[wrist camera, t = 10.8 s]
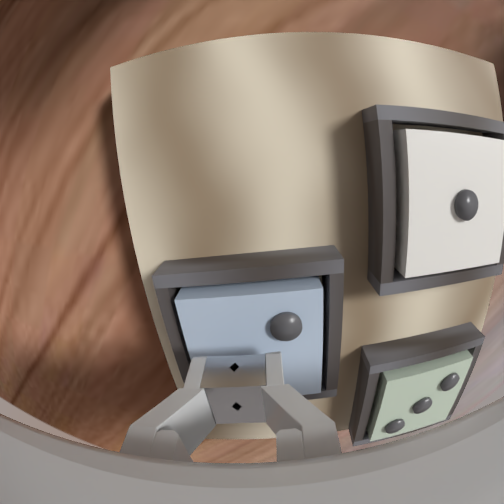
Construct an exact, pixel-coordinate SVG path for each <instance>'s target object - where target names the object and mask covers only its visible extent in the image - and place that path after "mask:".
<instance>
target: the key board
mask: <svg viewBox="0 0 504 504" xmlns="http://www.w3.org/2000/svg"><path fill="white" fill-rule="evenodd" d="M110 71H111V92H112V106H113V118H114V129H115V138H116V146H117V154H118V162H119V169H120V175H121V182H122V188H123V194H124V199H125V205H126V210H127V215H128V220H129V225H130V230H131V235H132V239H133V244H134V248H135V253H136V257H137V261H138V265H139V269H140V273H141V277H142V281H143V285H144V288H145V292H146V296H147V299H148V303H149V306H150V310H151V313H152V316H153V320H154V323H155V326H156V329H157V332H158V336H159V339H160V342H161V345H162V348H163V351H164V354H165V356H166V359H167V362H168V365H169V368H170V371H171V373H172V376H173V379H174V381H175V384H176V387H177V389H179V388H183V386H184V383H185V380H186V376H187V373H188V370H189V366H190V363H191V359H190V356H189V352H188V349H187V346H186V342H185V338H184V335H183V331H182V328H181V324H180V320H179V316H178V313H177V309H176V305H175V301H174V300H175V298H176V296H177V294H178V293H179V291H180V289H181V287H189V286H203V285H217V284H230V283H242V282H254V281H266V280H277V279H287V278H298V277H308V276H318V277H319V279H320V282H321V284H322V287H323V355H322V381H321V393H316V394H307V395H302V396H304V397H305V398H306V399H307V400H308V401H310V402H311V403H312V404H313V405H314V406H316V407H317V408H318V409H319V410H320V411H322V412H323V413H324V414H325V415H327V416H328V417H329V418H330V419H332V420H333V421H334V422H335V425H336V430H337V431H341V430H347V429H349V432H350V436H351V440H352V444H353V446H357V445H362V444H367V443H371V442H376V441H380V440H384V439H388V438H392V437H396V436H400V435H403V434H407V433H410V432H413V431H417V430H420V429H423V428H426V427H429V426H432V425H435V424H438V423H440V422H443V421H446V420H449V419H450V417H451V415H452V413H453V411H454V410H455V408H456V406H457V404H458V402H459V399H460V397H461V395H462V393H463V391H464V389H465V387H466V384H467V382H468V380H469V377H470V375H471V373H472V370H473V368H474V365H475V363H476V360H477V358H478V355H479V352H480V350H481V347H482V344H483V341H484V338H485V336H484V335H483V334H482V333H481V330H482V327H483V324H484V320H485V317H486V313H487V310H488V306H489V302H490V298H491V294H492V290H493V285H494V280H495V276H496V275H500V274H502V270H503V264H504V233H503V241H502V248H501V254H500V260H499V263H494V264H489V265H483V266H478V267H472V268H466V269H461V270H455V271H449V272H442V273H436V274H429V275H423V276H416V277H409V278H405V277H404V276H403V275H402V274H401V273H400V272H399V271H398V270H397V269H396V268H395V267H394V262H395V244H396V168H395V151H394V138H393V130H399V129H418V130H431V131H442V132H452V133H460V134H468V135H475V136H482V137H488V138H494V139H500V140H504V122H503V116H502V108H501V101H500V94H499V89H498V83H497V78H496V73H495V68H494V64H493V63H490V62H487V61H484V60H482V59H479V58H476V57H472V56H469V55H466V54H463V53H459V52H456V51H452V50H449V49H445V48H441V47H437V46H432V45H428V44H423V43H418V42H413V41H408V40H402V39H396V38H389V37H382V36H373V35H363V34H351V33H333V32H289V33H270V34H258V35H248V36H239V37H232V38H225V39H218V40H212V41H207V42H201V43H196V44H191V45H186V46H182V47H178V48H173V49H169V50H165V51H161V52H158V53H154V54H151V55H147V56H144V57H140V58H137V59H134V60H131V61H128V62H125V63H122V64H119V65H116V66H113V67H110ZM465 350H468V351H469V352H470V354H471V355H472V356H473V360H472V362H471V365H470V367H469V370H468V372H467V375H466V377H465V380H464V382H463V384H462V387H461V389H460V391H459V393H458V395H457V397H456V400H455V402H454V404H453V406H452V408H451V410H450V412H449V414H448V416H447V418H446V419H445V420H443V421H440V422H437V423H434V424H431V425H428V426H425V427H422V428H419V429H416V430H413V431H409V432H406V433H402V434H399V435H395V436H391V437H387V438H383V439H379V440H375V441H370V440H369V437H368V433H367V430H366V427H367V423H368V420H369V416H370V412H371V408H372V404H373V400H374V396H375V392H376V388H377V383H378V378H379V374H380V372H385V371H389V370H394V369H398V368H403V367H407V366H411V365H415V364H419V363H423V362H427V361H431V360H435V359H438V358H442V357H445V356H448V355H452V354H455V353H458V352H461V351H465ZM264 438H276V435H275V433H274V432H273V431H272V430H271V428H270V427H269V426H268V425H267V423H266V422H262V423H231V424H216V426H215V427H214V428H213V430H212V431H211V432H210V433H209V434H208V435H207V437H206V438H205V439H264Z"/></svg>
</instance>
